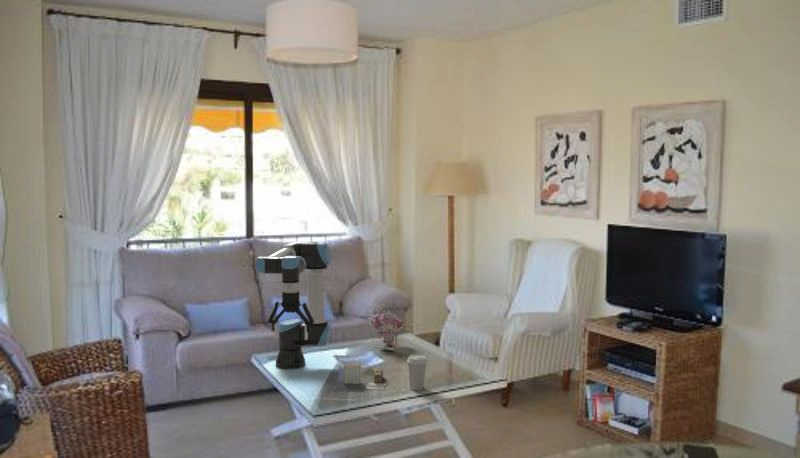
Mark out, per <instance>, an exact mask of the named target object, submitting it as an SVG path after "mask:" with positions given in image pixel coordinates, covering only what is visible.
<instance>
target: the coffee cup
mask: <svg viewBox="0 0 800 458" xmlns="http://www.w3.org/2000/svg"><path fill="white" fill-rule="evenodd" d="M406 362H407V365H408V366H407V367H408V378H409V379H408V380H409V390H411V391H423V390H424V388H425V377H426V368H427V363H428V359H427V358H426V356H425V355H423V354H422V355H421V354H412V355H409V356H408V358H407V360H406ZM422 389H423V390H422Z"/></svg>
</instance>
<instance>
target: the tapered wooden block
mask: <svg viewBox="0 0 800 458" xmlns="http://www.w3.org/2000/svg"><path fill="white" fill-rule="evenodd" d="M373 377H374V381H373V382H369V383H367V384H368V385H367V386H366V390H367V391H368V390H372V391H373V390H375V391H385V387H386V385H387V383H383V382H382V381H383V378H384V369H383V368H379V367H377V368H376V369H375V373H374V375H373Z"/></svg>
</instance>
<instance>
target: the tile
mask: <svg viewBox="0 0 800 458" xmlns="http://www.w3.org/2000/svg"><path fill="white" fill-rule="evenodd" d="M343 382H344V384H361V383H362V364H357V363H355V364H351V363H350V364H348V363H343Z"/></svg>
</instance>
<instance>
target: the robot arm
mask: <svg viewBox="0 0 800 458" xmlns="http://www.w3.org/2000/svg"><path fill="white" fill-rule="evenodd" d="M329 246H330V245H328V243H326V242H323V241H295V242H291V243H288V244H285V245H283V246H281V247H280V248H279V249H278V250H277V251H276V252H273V253H272V254H270V255H268V256H258V257H256V259H255V262H254V267H255V271H256V273H258V274H263V275H267V274H271V275H272V274H274V275H275V274H277V275H281V280H282V281H281V291H282V292H281V295H282V296H281V302H280V301H276V302H275V303H274V308H273V310H272V312H271V314H270V315H269V318H268V320H267V322H268V324H269V323H270V324H272V325H271V326H272V328H271V329H272V332H274V340H277V339H278V352H277V356H276V359H275V366H276V368H279V369H286V370H290V369H291V370H292V369H293V370H294V369H298V368H301V367H303V366H305V365H306V359H305V356H304V353H303V349H302V346H303V347H304V346H305V347H318V348H319V347H325V346H327V345H328V343H329V341H330V337H331V332H332V331H331V330H332V325H331V324H330V323H329V322H328V319H327V318H326V317H325V271H326V270H327V269H328V266H330V265H331V258H332V256H331V250H330V247H329ZM304 271H306V272H307V302H306V301H304V302H300V274H302V273H304ZM280 307H281V308H283V309H282V310H281V311H280V312H279V314H278V315H277V316H276V313H277V311H278V309H279V308H280ZM300 307H301V308H302V309H303V311H304V313H305V314H304V313H303V312H302V310H301V308H300ZM285 313H292V314H294V313H296V314H297V315H298V316H299V318H300V319H298V318H295V319H294V318H293V319H287V320H283V321H282V322H280V323H278V322H277V321H278V320H280V318H281V317H282V316H283V315H284V314H285ZM275 316H276V317H275ZM274 317H275V318H274ZM302 321H303V322H302ZM278 324H279V325H278Z"/></svg>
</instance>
